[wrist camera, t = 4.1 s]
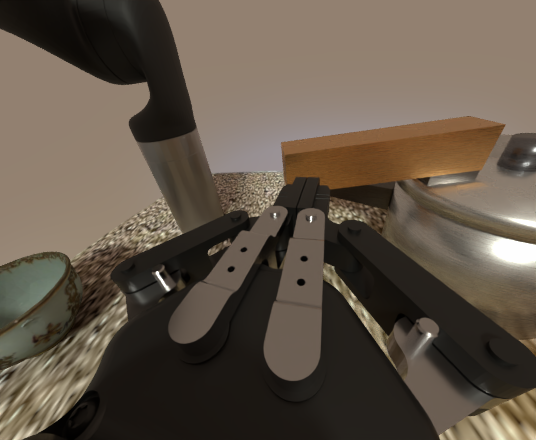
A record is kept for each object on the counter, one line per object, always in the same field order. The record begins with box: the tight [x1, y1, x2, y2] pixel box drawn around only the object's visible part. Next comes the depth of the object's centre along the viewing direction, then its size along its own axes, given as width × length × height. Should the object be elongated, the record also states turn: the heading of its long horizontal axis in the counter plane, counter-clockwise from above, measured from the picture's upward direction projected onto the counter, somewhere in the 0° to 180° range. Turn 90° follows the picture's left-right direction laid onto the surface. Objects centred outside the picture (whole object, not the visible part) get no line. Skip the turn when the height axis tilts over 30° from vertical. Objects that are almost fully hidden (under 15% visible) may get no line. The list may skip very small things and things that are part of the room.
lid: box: [281, 116, 536, 244], centre depth 18 cm, size 30×19×6 cm, turn 92°
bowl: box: [0, 252, 83, 370], centre depth 24 cm, size 14×13×8 cm
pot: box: [330, 181, 536, 340], centre depth 25 cm, size 32×18×12 cm, turn 52°
